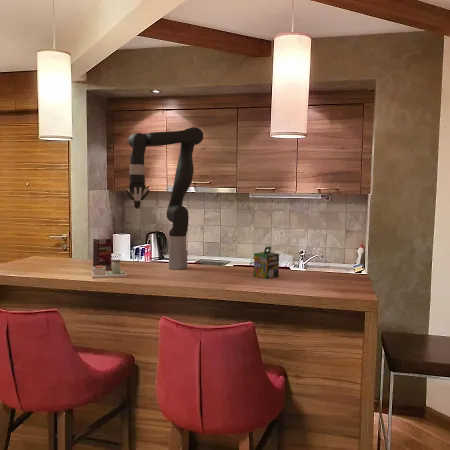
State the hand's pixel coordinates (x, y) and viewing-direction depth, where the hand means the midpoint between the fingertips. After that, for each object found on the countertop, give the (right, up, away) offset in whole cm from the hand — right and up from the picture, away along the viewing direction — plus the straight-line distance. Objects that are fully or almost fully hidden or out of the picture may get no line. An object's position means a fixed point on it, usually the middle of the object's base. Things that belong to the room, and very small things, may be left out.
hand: (137, 208), depth 243 cm
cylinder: (-9, -31, -8) cm, 34 cm away
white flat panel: (-12, -33, -9) cm, 36 cm away
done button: (-16, -31, -11) cm, 36 cm away
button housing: (-16, -33, -10) cm, 38 cm away
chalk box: (+64, -34, -6) cm, 73 cm away
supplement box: (-20, -31, +9) cm, 38 cm away
